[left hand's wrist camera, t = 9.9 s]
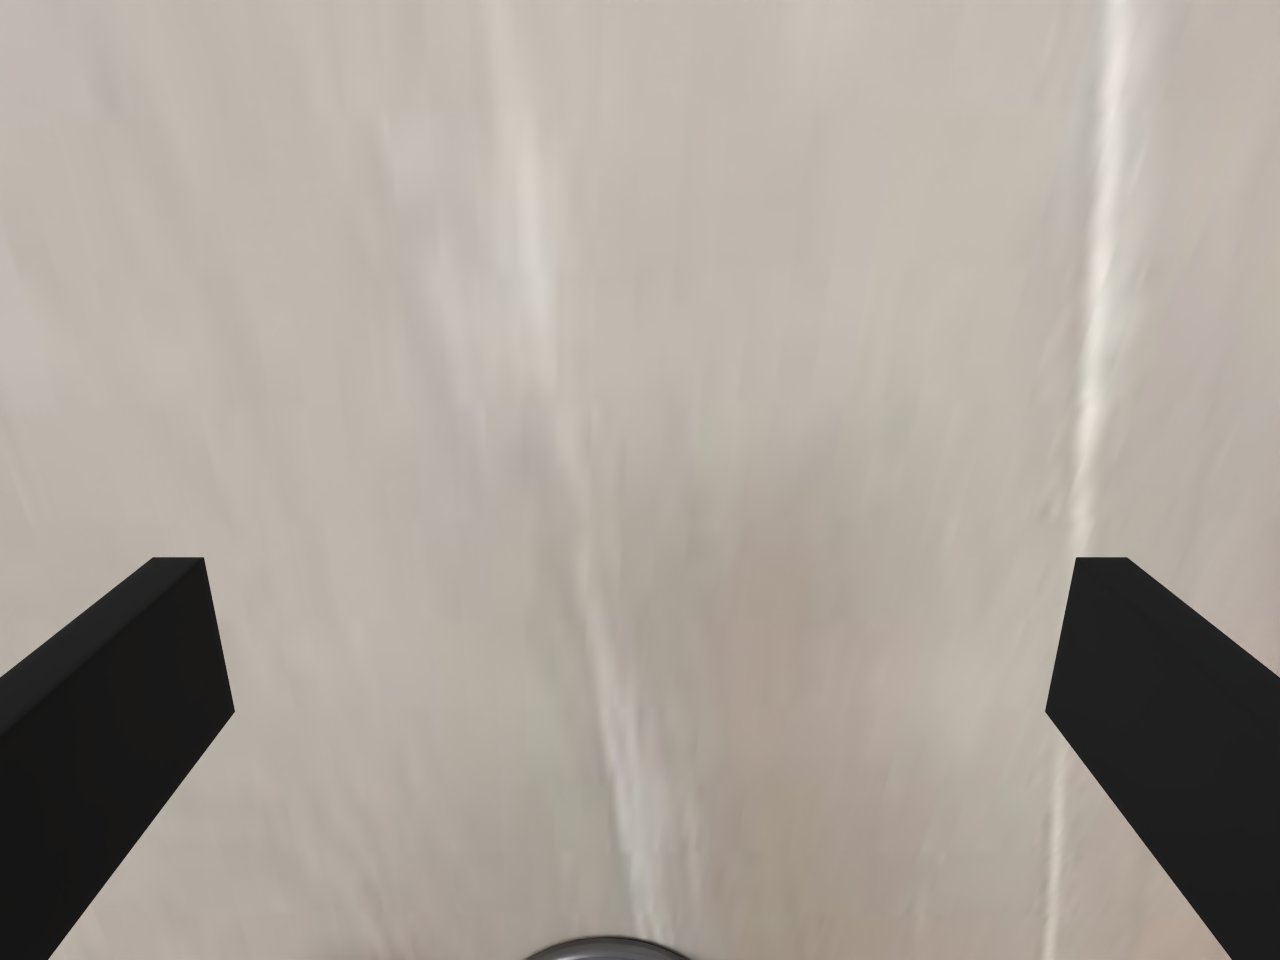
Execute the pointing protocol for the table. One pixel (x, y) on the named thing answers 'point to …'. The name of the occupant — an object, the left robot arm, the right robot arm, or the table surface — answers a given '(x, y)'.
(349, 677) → the table surface
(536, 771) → the table surface
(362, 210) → the table surface
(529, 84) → the table surface
